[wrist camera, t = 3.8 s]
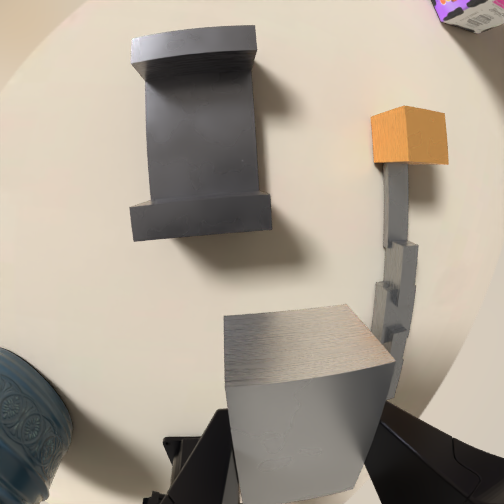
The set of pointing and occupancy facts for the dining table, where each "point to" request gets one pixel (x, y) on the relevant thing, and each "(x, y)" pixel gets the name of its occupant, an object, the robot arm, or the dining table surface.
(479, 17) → the candy box
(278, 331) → the grey block
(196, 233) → the grey u-shaped bracket
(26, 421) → the canister
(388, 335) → the orange headed key
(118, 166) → the dining table surface
